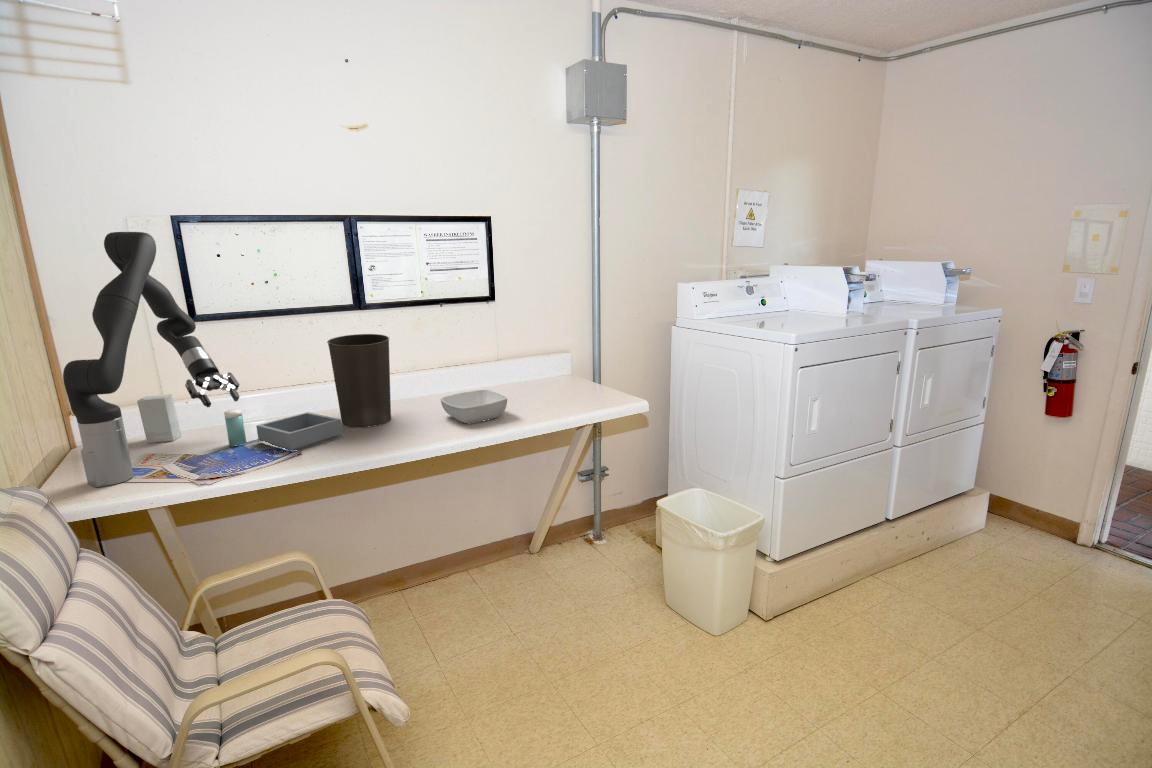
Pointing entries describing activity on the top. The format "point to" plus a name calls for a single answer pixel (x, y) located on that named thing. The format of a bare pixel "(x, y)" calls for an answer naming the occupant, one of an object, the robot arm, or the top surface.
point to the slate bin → (300, 431)
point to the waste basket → (362, 378)
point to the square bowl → (474, 405)
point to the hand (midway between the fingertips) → (223, 402)
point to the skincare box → (159, 418)
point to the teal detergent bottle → (235, 427)
